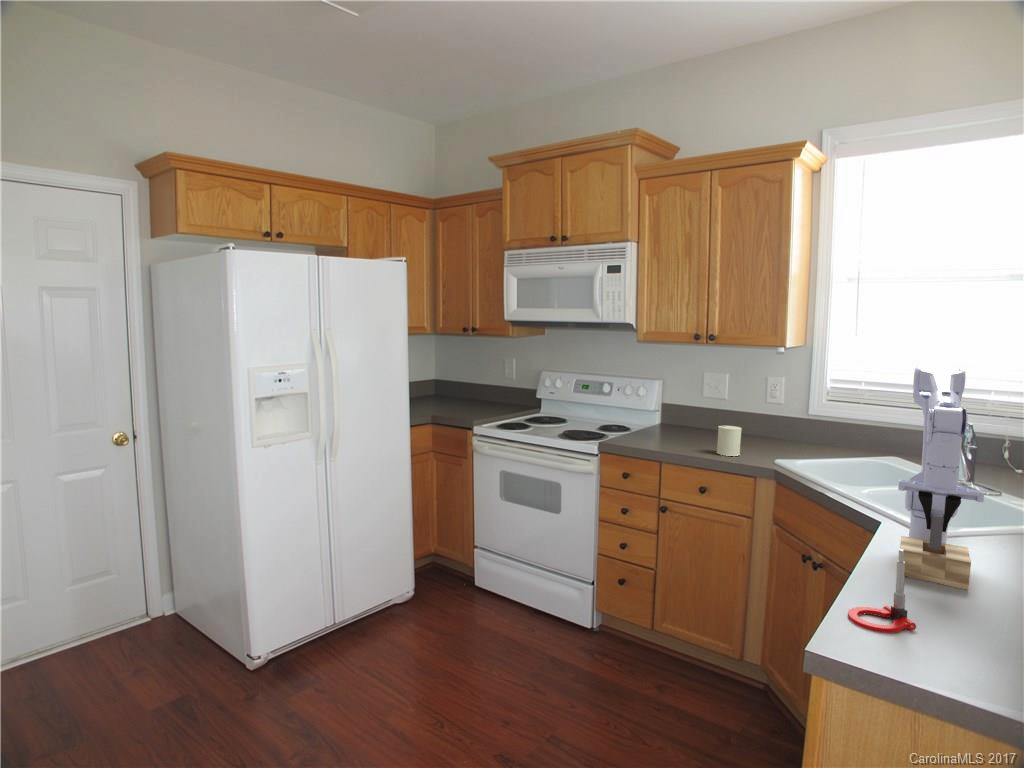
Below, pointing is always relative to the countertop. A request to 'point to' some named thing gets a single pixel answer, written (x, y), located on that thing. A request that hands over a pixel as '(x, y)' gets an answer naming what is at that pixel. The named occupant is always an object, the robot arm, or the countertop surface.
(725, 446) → the can
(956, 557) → the slotted wooden block
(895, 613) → the tow hook
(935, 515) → the grey flat piece
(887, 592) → the countertop surface
